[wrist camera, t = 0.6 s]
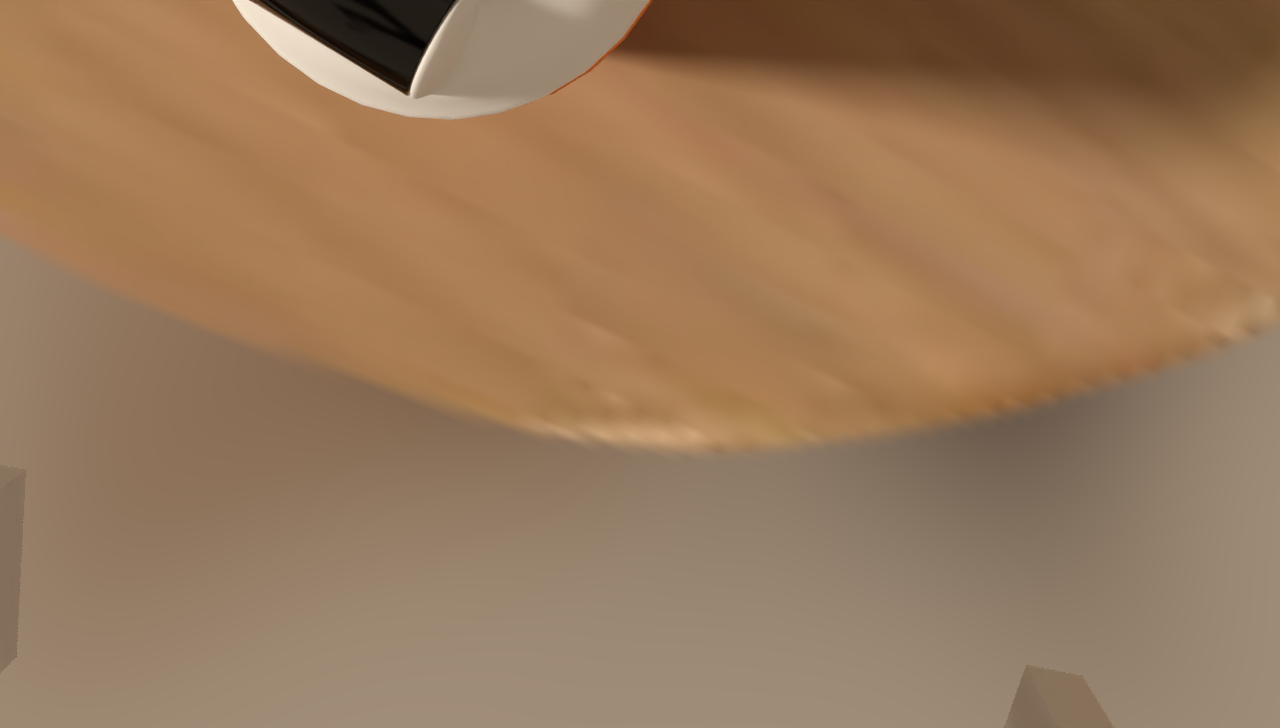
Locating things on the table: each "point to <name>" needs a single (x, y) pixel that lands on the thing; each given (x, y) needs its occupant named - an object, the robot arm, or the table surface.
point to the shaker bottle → (443, 48)
